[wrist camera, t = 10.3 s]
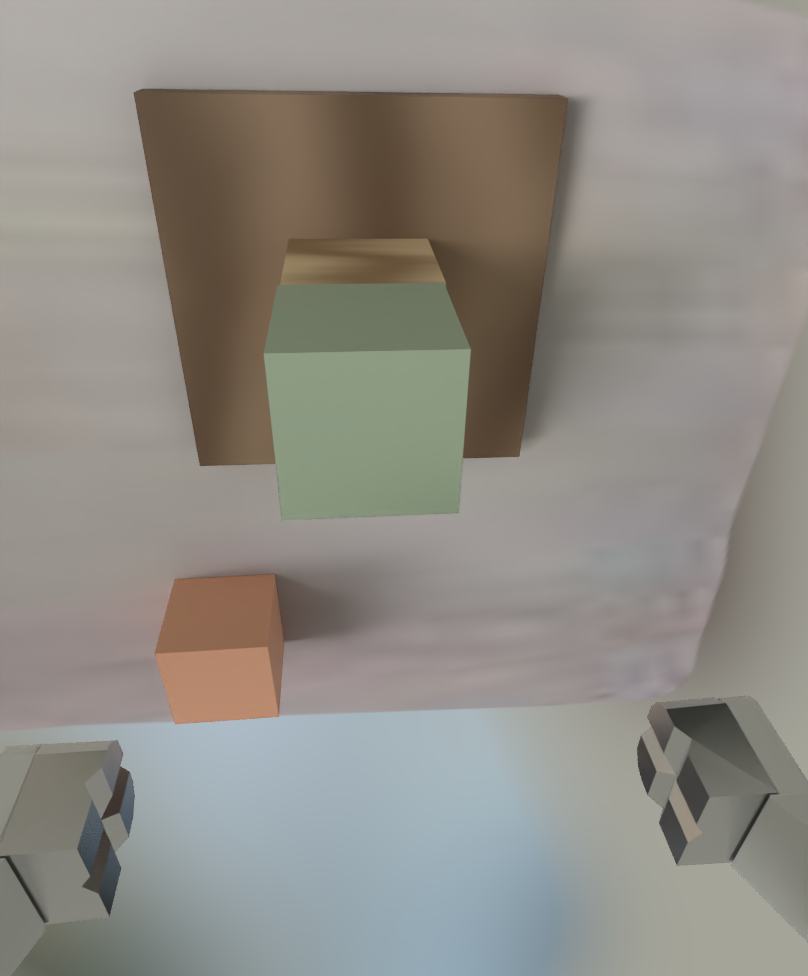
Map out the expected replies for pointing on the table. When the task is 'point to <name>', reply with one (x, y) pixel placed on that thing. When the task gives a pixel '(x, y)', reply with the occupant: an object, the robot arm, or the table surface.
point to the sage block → (367, 399)
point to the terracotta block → (222, 649)
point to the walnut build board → (349, 232)
